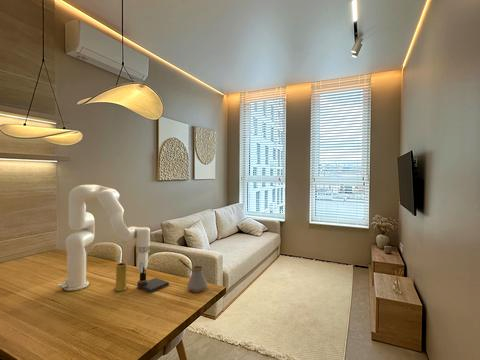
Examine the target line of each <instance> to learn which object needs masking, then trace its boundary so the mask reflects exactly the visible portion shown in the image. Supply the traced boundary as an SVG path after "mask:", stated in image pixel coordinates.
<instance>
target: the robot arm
mask: <svg viewBox="0 0 480 360" xmlns="http://www.w3.org/2000/svg"><path fill="white" fill-rule="evenodd" d="M92 199H94V200H95V199H97V200H98V202H99V204H100V205H101V206H102V208H103V210H104V211H105V212H106V214H107V215H108V217H109V220H110V226H111V229H112V231H113V233H114V234H115V236H116V238H117V239H118V240H119V241H120V242H122V243H129V242H132V241H133V240H135V242H136V244H135V248H136V249H135V253H137V258H136V271H139V281H145V280H147V267H148V265H149V252H151V229H150V228H149V227H148V226H147V227H146V226H144V227H143V226H142V227H140V226H132V225H131V226H129V227H128V226H127V225H126V223H125V222H124V213H125V210H124V209H125V208H124V207H123V206H122V204H121V203H120V201H119V199H120V192H118V191H117V190H116V189H115V188H111V187H107V186H103V185H99V184H81V185H77V186H75V187H74V188H72V189H71V190H70V192H69V194H68V227H69V229H70V230H72V231H76V232H73V233H71V234H69V235H68V236H67V237H66V239H65V243H64V244H65V249H66V279H65V280H64V281H63V282H62V283H58V284H57V285H56V288H57V289H60V288H62V289H63V290H64V291H66V292H67V291H69V292H71V291H72V292H73V291H79V290H82V289H86V288H87V287H89V285H90V282H89V281H88V280H87V251H86V249H85V247H86V246H89V245H90V244H92V243H93V242H94V240H95V232H96V231H95V229H96V227H95V225H96V222H95V221H96V220H95V216H94V215H93V214H92V212H91V213H90V212H88V211H87V204H86V202H85V201H86V200H92Z"/></svg>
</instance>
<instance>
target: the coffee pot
mask: <svg viewBox="0 0 480 360" xmlns="http://www.w3.org/2000/svg"><path fill="white" fill-rule="evenodd" d="M177 262H178V263H182V265H183V266H184V267H186V268H187V269H189V270H190V271H191V272H192V273H191V275H190V278H189V279H188V281H187V285H186V286H187V288H188V290H190V291H191V292H193V293H201V292H204V290H205V289H207V287H208V282H207V279H206V277H205V274H204V271H203V270H204V266H203V265H194V266H192V267H190V266H189V265H188V264H187V263H186V262H184V261H183V260H181V259H180V258H179V259H178V260H177Z"/></svg>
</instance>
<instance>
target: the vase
mask: <svg viewBox="0 0 480 360" xmlns="http://www.w3.org/2000/svg"><path fill="white" fill-rule="evenodd" d="M127 289H128V286H127V263H126V262H120V263H116V264H115V287H114V291H116V292H121V291H125V290H127Z"/></svg>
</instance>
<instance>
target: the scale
mask: <svg viewBox="0 0 480 360" xmlns="http://www.w3.org/2000/svg"><path fill="white" fill-rule="evenodd" d="M169 286H170V282H168V281H166V280H164V279H161V278H157V277H153V278H151V279H149V280H147V279H146V280H145V282H143V283H140V280H138V281H137V288H138V289H139V290H143V291H145V292H148V293H151V294H152V293H154V292H156V291H159V290H160V289H163V288H166V287H169Z"/></svg>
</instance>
